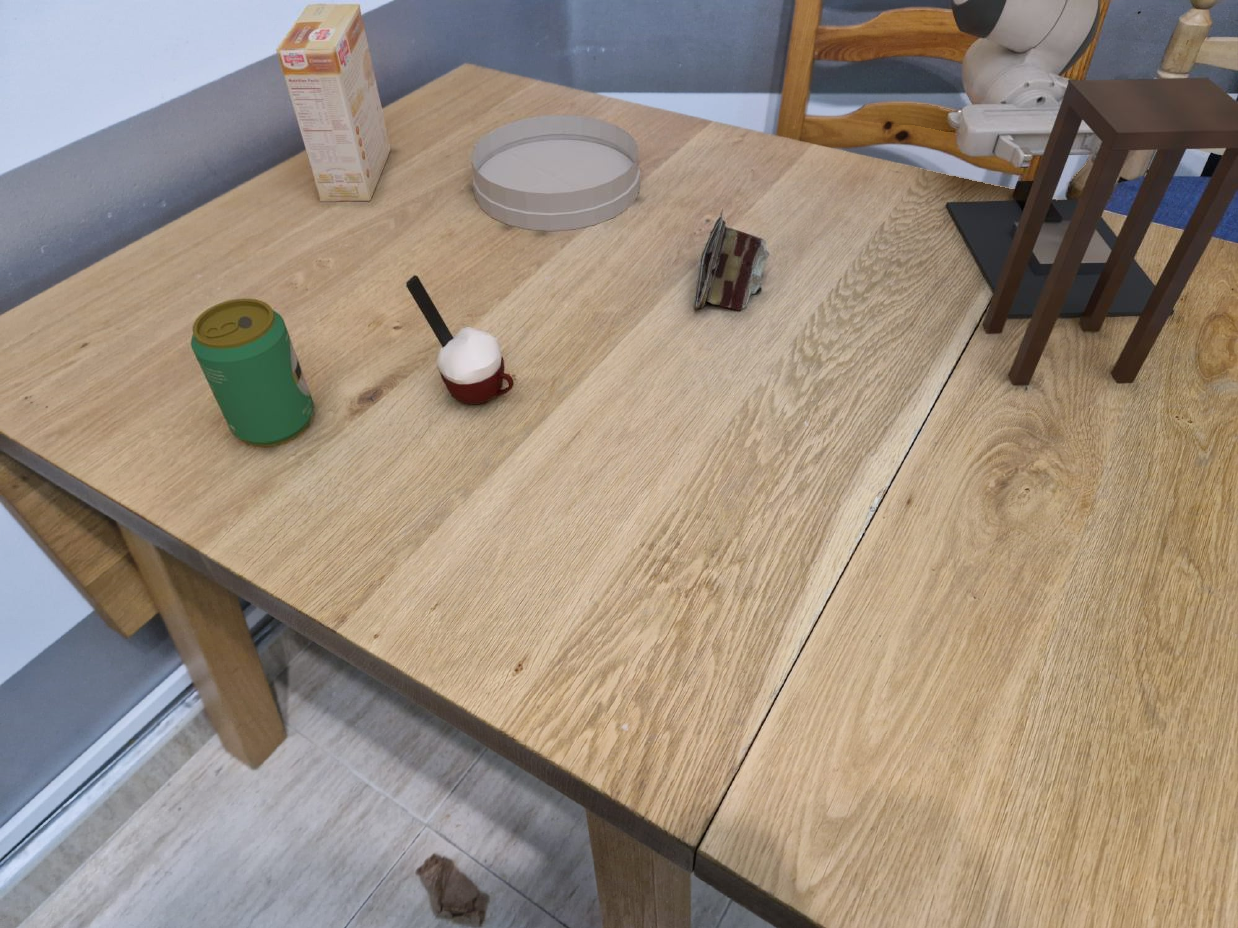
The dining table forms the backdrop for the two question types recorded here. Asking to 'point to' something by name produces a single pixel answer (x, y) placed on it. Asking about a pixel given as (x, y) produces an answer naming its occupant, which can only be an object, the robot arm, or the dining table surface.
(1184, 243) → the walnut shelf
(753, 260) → the chocolate cake
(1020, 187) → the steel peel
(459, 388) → the cocoa
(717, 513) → the dining table surface
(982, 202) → the rubber mat
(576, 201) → the dish
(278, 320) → the beverage can
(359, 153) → the coffeecake box
